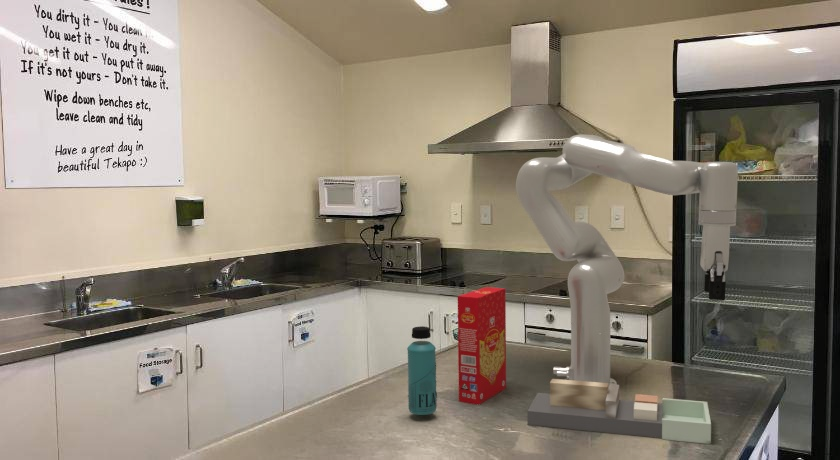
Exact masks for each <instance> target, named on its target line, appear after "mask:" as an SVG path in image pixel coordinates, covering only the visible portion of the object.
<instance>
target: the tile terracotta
mask: <svg viewBox="0 0 840 460" xmlns="http://www.w3.org/2000/svg"><path fill="white" fill-rule="evenodd" d="M634 401H635V402H639V403H651V404H657V403H658V401H659V400H658V395H653V394H652V395H649V394H640V393H639V394H637V393H635V397H634Z"/></svg>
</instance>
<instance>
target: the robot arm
mask: <svg viewBox="0 0 840 460" xmlns="http://www.w3.org/2000/svg"><path fill="white" fill-rule="evenodd" d="M592 174H595V175H600V176H604V177H606V178H610V179H613V180H617V181H621V182H622V183H626V184H629V185H631V186H635V187H637V188H641V189H645V190H649V191H653V192H656V193H658V194H659V193H660V194H663V195H668V196H681V195H690V194H691V195H693V194H699V198H698V199H699V203H698V225H699V226H702V234H701V247H700V248H701V249H700V250H701V251H700V260H699V262H700V263H699V264H700V267H701V269H702V270H703V271H704V272H705V274H704V285H703V286H704V288H703V289H704V292H705V293H708V300H709V301H710V300H711V301H725V300H726V287H727V286H726V283H727V282H726V272H727V271H728V270H729V269H728V268H729V261H730V260H729V258H730V239H731V238H730V237H731V236H730V235H731V233H730V232H731V227H736V225H737V223H736V222H737V204H738V203H737V202H738V199H737V198H738V179H739V178H738V177H739V176H738V175H739V169H738V166H737V164H736V163H734V162H732V161H707V162H701V161H700V162H698V161H690V160H673V159H669V158H663V157H658V156H655V155H651V154H647V153H644V152H641V151H638V150H637V149H636V148H635V147H634V146H632V145H631V144H626V143H622V142H618V141H613V140H607V139H605V138H603V137H602V136H599V135H595V134H582V133H581V134H574V135H573V136H570V137H569V138H568V139H567V140H566V141H565V142H564V145H563V147H562V154H560V155H559V156H557V157H545V156H544V157H543V156H542V157H534V158H532V159H530V160H527V161H526V162H525V163H523V165H522V166H521V167H520V169H519V170H518V173H517V176H516V180H515V181H516V183H515V190H516V195H517V198H518V201H519V203H520V205H521V206H522V208H523V210H524V211H525V213H526V215H528V216H529V218H530V220H531V221H532V223H533V224H534V226H535V227H536V229H537V230H538V232H539V234H540V235H541V237H542V238H543V240H544V242H545V243H546V245H547V246H548V248H549V249H550V251H551V252H552V254H553V255H554V256H555V258H556V259H558V260H560V261H563V262H572V261H577V263H576V264H575V265H574V266H573V267H572V268H571V269H570V271H569V272H568V275H567V289H568V295H569V302H570V337H571V338H570V366H565V367H562V366H553V370H552V371H553V374H554V375H556V377H566V378H564V380H574V381H587V382H600V383H608V389H609V386H610V384H616V385H618V384H617V381H616V380H615V379H614V378H611V309H610V304H609V300H608V295H609V294H611V293H614V292H615V291H617V290H619V289H620V288H621V287H622V285H623V284H624V281H625V271H624V267H623V265H622V263H621V261H620V260H619V258H618V257H617V255H616V254H615V252H614V251H613V249H612V248H611V246H610V245H609V244H608V242H607V241H606V239H605V238H604V237H603V235H602V234H601V232H600V231H599V229H597V228H596V227H595V226H594V225H592V224H591V223H589V222H585V221H574V220H573V219H572V218H571V216H570V215H569V213H568V212H567V210H566V209H565V207H564V206H563V204H562V203H561V202H560V201H559V200H558V199H557V198H556V197H555V196H554V195H553V194H552V193H551V191H556V190H557V191H559V190H565V189H567V188H569V187H571V186H572V185H575V184H576V183H577V182H580V181H581V180H584V179H585V178H587V177H588V176H591V175H592Z"/></svg>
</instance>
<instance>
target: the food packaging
mask: <svg viewBox="0 0 840 460" xmlns="http://www.w3.org/2000/svg"><path fill="white" fill-rule="evenodd" d="M506 307H507V305H506V288H502V287H490V286H485V287H482V288H479V289H476V290H473V291H470V292H466V293H463V294H461V295H457V345H458V346H457V349H458V352H457V353H458V354H457V355H458V359H457V360H458V363H457V364H458V366H457V367H458V402H461V403H467V404H471V403H472V404H473V405H477V404H478V406H479V404H480V405H481V404H483V403H484V402H486V401H488V400H490V399H491V398H493V397H494V396H496V395H498V394H499V393H501V392H502V391H504V390H505V389H507V344H506V343H507V334H506V333H507V328H506V327H507V326H506V324H507V323H506V322H507V320H506V319H507V314H506V313H507V311H506V310H507V309H506ZM487 399H488V400H487Z"/></svg>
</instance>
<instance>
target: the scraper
mask: <svg viewBox="0 0 840 460" xmlns="http://www.w3.org/2000/svg"><path fill="white" fill-rule="evenodd" d="M549 394H550V405H553V406H564V407H575V408H586V409H597V410H606V418H616V414H617V409H618V404H619V400H620V384H617V385H616V384H610V386H609V389H608V383H600V382H587V381H574V380H565V379H560V378H552V379H551V380H550V382H549Z"/></svg>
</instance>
